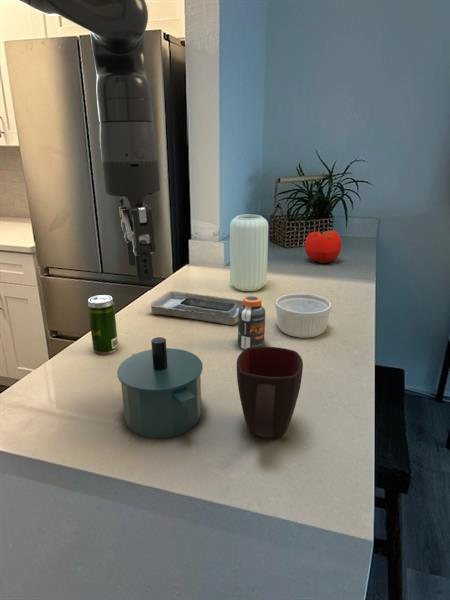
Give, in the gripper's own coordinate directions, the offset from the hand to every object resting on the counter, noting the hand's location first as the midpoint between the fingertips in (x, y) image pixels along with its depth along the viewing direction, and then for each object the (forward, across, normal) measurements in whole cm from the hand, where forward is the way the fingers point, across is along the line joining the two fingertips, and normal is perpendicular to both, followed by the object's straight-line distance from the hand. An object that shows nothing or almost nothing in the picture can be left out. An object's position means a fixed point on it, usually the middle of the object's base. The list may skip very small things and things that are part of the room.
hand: (140, 271), depth 65 cm
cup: (+25, +12, +16) cm, 32 cm away
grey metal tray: (+25, -41, +21) cm, 52 cm away
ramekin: (+26, -22, +41) cm, 53 cm away
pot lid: (+16, +1, +2) cm, 17 cm away
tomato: (+26, -74, +79) cm, 112 cm away
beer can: (+25, -27, -5) cm, 37 cm away
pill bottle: (+25, -18, +26) cm, 40 cm away
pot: (+25, +1, +2) cm, 25 cm away
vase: (+26, -56, +41) cm, 74 cm away
